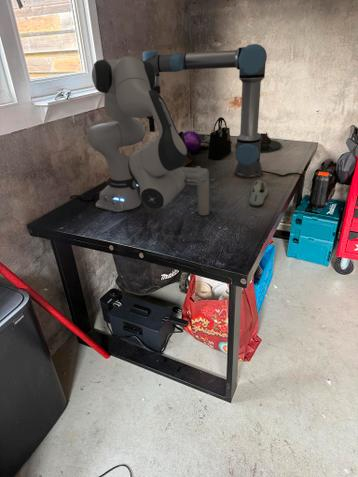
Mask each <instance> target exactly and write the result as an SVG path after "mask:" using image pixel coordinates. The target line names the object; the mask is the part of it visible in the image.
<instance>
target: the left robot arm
mask: <svg viewBox="0 0 358 477" xmlns="http://www.w3.org/2000/svg"><path fill="white" fill-rule="evenodd" d="M92 66H93V67H92V70H91V80H92V83H93V85H94V88H95V89H96V90H97V92H99V93H102V94H104V96H103V97H104V98H103V99H104V100H103V101H104V102H103V110H104V114H106V116H107V117H108V118H109V119H110V120H112V121H108V122H103V123H98V124H95V125H93V126H90V127H89V128H88V130H87V134H86V139H87V142H88V145H89V146H90V147H91V148H92V149H93V150H95V151H97V152H99V153H100V154H101V155H102V156H103V157H104V159H105V161H106V163H107V166H108V170H109V174H110V177H108V178H107V179H106V183H108V185H106V186H105V187H104V189H101V190H100V191H98V192H96V193H94V194H93V195H92V198H89V199H88V198H84V196H82V195H78V194H73V196H72V195H70V196H69V199H72V198H74V197H77V198H81V200H82V201H84V202H91V201H93V200H94V199H95V197H96V196H97V199H98V200H97V201H96V203H95V208H99V209H103V210H107V211H111V212H115V213H121V212H124V211H129V210H134V209H136V208H138V207H140V206H141V204H142V203H143V205H144V206H146V207H147V208H150V209H153V210H159V209H163V208H164V207H166V206H167V205H168V204H170V203H171V202H172V201H173V200H174V199H175V198H176V196H178V194H180V193H181V191H182V190H184V188H185V187H186V185H188V186H189V185H190V186H197V185H201V184H203V183H204V182H206V181H207V180H208V179H209V180H210V172H209V169H208V168H207V167H201V166H200V165H195V167H190V166H189V167H187V166H185V167H182V166H183V165H184V163H185V161H186V157H187V149H186V146H185V144H184V142H183V141H182V139H181V137H180V135H179V131H178V129H177V127H176V125H175V122H174V120H173V117H172V114H171V113H170V111H169V110H170V109H168V106H167V104H166V101H165V100H164V98H163V97H162V96H161V94H160V95H159V94H158V93H157V92H156V91H154V90H153V89H154V86H155V81H156V75H155V70H154V67H153V66H152V64H151V63H149V62H146V61H143V60H139V59H138V58H137V57H135V56H131V55H126V56H123V57H122V58H120V59H105V58H103V59H99V60H96V61H95V62H94V63H93V65H92ZM149 116H153V118H154V124H155V125H156V127H157V130H158V136H157V137H156V139H155V140H153V141H152V142H150V143H148V144H147V145H145V146H143V147H141V148H139V149H138V150H136V151H134V152H133V153H131V154H130V155H127V154H125V153H121V152H120V151H119V149H120V148H124V147H129V146H133V145H136V144H138V143H141V142H143V141H144V139H145V135H146V131H145V130H146V129H145V126H144V125H143V123H142V121H140V120H139V119H144V118H147V117H149ZM206 168H207V169H206ZM138 187H139V193H138Z"/></svg>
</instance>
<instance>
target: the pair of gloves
mask: <svg viewBox="0 0 358 477" xmlns="http://www.w3.org/2000/svg"><path fill="white" fill-rule="evenodd" d="M203 139H204V140H201V145H200V148H199V149H202V148H208V149H209V142H210V135H209V136H208V135H207V134H205V135H204V137H203ZM230 141H231V144H232V142H233V141H232V140H230Z"/></svg>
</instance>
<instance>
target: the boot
mask: <svg viewBox="0 0 358 477" xmlns="http://www.w3.org/2000/svg"><path fill="white" fill-rule="evenodd" d="M184 133H185V132H184V131H178V134H179V135H180V137H181V139H182V141H183V142H184V144H185V146H186V142H185V138H184ZM186 149H187V146H186ZM193 159H194V158H193V155H192V153H190V152H188V150H187V157H186V161H185V163H184V165H183V166H182V167H187V165H188V164H190V163H192V162H193Z"/></svg>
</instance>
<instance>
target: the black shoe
mask: <svg viewBox="0 0 358 477" xmlns="http://www.w3.org/2000/svg"><path fill="white" fill-rule="evenodd" d="M260 134H261V138H262V139H261V150H260V154H262V153H271V152H276V151H279V150H280V149H281V148H282V143H281V142H279V141H277V140H272V139H271V137H270V136H269V134H268V132H265V133H262V132H260ZM235 148H236V149H237V142H236V144H235Z"/></svg>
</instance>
